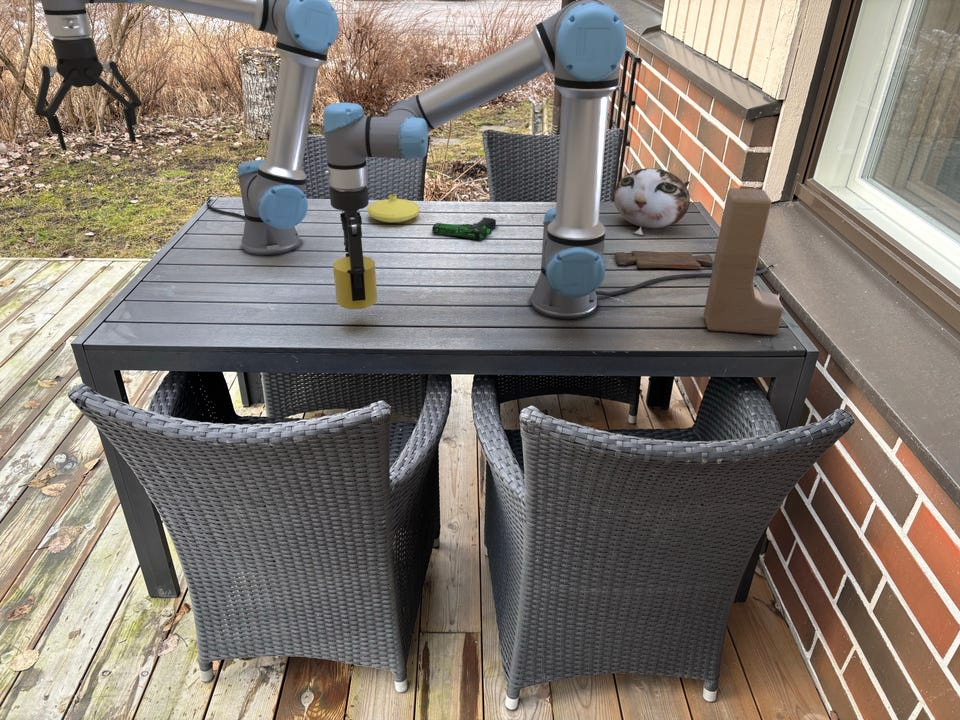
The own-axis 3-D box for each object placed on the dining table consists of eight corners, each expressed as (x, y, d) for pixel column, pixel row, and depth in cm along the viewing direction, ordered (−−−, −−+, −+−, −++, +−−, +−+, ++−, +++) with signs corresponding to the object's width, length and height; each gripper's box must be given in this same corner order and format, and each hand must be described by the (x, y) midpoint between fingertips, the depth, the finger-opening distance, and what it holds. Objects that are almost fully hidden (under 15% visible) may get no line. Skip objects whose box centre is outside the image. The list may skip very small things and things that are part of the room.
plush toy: (594, 216, 205) (617, 152, 207) (611, 239, 221) (631, 180, 223) (669, 229, 195) (692, 162, 196) (681, 253, 210) (702, 191, 212)
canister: (385, 297, 155) (383, 261, 151) (359, 312, 149) (356, 275, 144) (354, 288, 159) (351, 252, 155) (328, 302, 153) (324, 265, 148)
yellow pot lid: (391, 206, 226) (390, 184, 222) (430, 216, 218) (430, 194, 214) (356, 220, 215) (355, 197, 211) (396, 231, 207) (395, 207, 203)
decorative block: (777, 336, 155) (812, 202, 140) (707, 331, 157) (733, 198, 142) (770, 320, 162) (802, 191, 146) (702, 315, 163) (727, 187, 148)
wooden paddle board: (717, 272, 186) (707, 257, 194) (718, 266, 185) (709, 251, 193) (618, 268, 186) (613, 254, 195) (619, 262, 185) (613, 248, 194)
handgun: (502, 218, 210) (482, 233, 198) (502, 228, 212) (482, 243, 199) (452, 211, 216) (430, 225, 203) (452, 221, 217) (430, 235, 205)
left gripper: (1, 43, 134) (35, 156, 145) (142, 35, 146) (164, 141, 157) (-2, 38, 140) (31, 148, 150) (134, 32, 152) (156, 134, 162)
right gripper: (325, 172, 149) (334, 271, 161) (333, 204, 131) (343, 314, 143) (361, 170, 151) (368, 269, 162) (374, 202, 133) (380, 310, 145)
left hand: (99, 144), depth 154 cm, fingers open, 13 cm apart
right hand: (356, 290), depth 153 cm, fingers closed on canister, 9 cm apart
